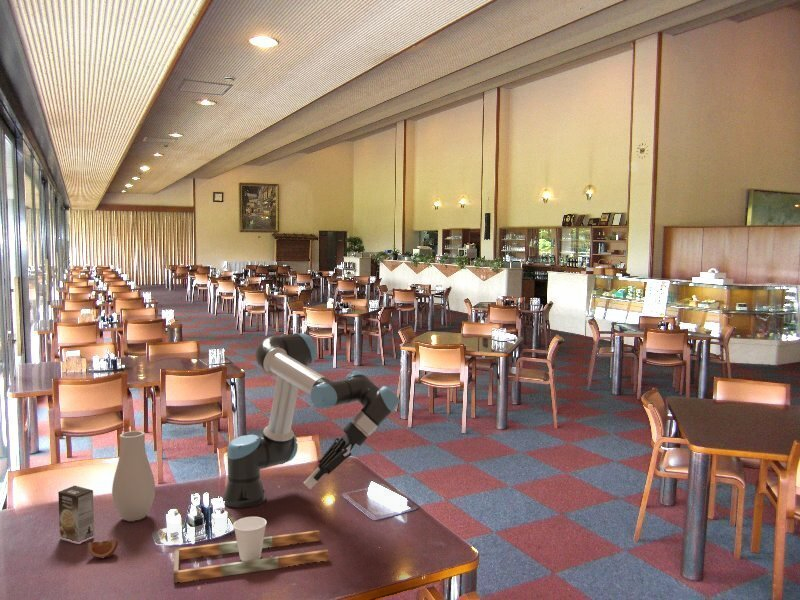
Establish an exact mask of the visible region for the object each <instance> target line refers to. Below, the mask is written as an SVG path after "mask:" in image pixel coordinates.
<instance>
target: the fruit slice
mask: <svg viewBox="0 0 800 600" xmlns="http://www.w3.org/2000/svg"><path fill="white" fill-rule="evenodd" d="M118 544H119V541H118V540H117V539H111V540H102V541H91V542H88V541H87V552H88V553H89V554H90V555H91V556H93V557H94V558H97V557H98V558H97V559H103V558H102V557H107V556H109V557H110V556H112V555H113V554H114V553H115V551H116V550H117V548H118ZM107 558H108V557H107Z"/></svg>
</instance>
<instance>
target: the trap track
mask: <svg viewBox="0 0 800 600" xmlns="http://www.w3.org/2000/svg"><path fill="white" fill-rule="evenodd" d="M319 541H320V530H317V529H316V530H310V531H308V530H307V531H303V532H294V533H287V534H279V535H272V536H264V539H263V545H262V549H267V548H268V547H269V548H275V547H276V546H277V547H284V546H291V545H290V544H292V545H298V544H297V543H299V544H305V543H304V542H306V543H312V542H319ZM277 547H276V548H277ZM230 553H231V554H232V553H233V554H234V553H239V550H238V545H237V540H234V541H233V540H232V541H224V542H219V543H218V542H217V543H210V544H209V543H208V544H203V545H196V546H188V547H187V546H186V547H179V548H175V549H174V556H173V557H174V559H173V584H178V583H177V582H180V583H185V582H193V580H194V581H199V579H201V580H206V579H214V578H221V577H228V576H232V575H233V576H234V575H239V574H240V575H241V574H247V573H253V572H261V571H267V570H274V569H275V570H276V569H281V568H282V567H283V568H288V566H290V567H294V566H293V565H296V566H299V565H298V564H303V565H305V564H304V563H310V562H317V563H321V562H320V561H324V562H328V561H329V550H328V548H327V549H323V550H322V549H320V550H313V551H308V552H300V553H294V554H293V553H292V554H286V555H280V556H273V557H265V558H264V557H263V558H260V559H256V560H249V561H242V560H241V561H236V562H235V561H234V562H228V563H222V564H221V563H220V564H215V565H207V566H200V567H194V568H185V569H180V559H181V560H186V559H187V560H188V559H195V558H194V557H196V558H202V557H201V556H203V557H209V556H210V555H211V556H216V555H217V556H218V555H223V554H224V555H225V554H230ZM327 560H328V561H327ZM310 564H311V563H310Z"/></svg>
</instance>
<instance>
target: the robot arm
mask: <svg viewBox="0 0 800 600" xmlns="http://www.w3.org/2000/svg"><path fill="white" fill-rule="evenodd" d="M255 350H256V351H255V361H256V364H257V365H258V366H259V368H261V370H263V371H265V372H266V373H268V374H269V375H276V376H277V377H276V381H275V382H276V383H275V386H274V387H275V388H274V392H273V399H272V404H271V410H270V413H269V414H270V415H269V421H268V425H267V426H265V427H264V428H263V432H262V436H258V435H256V434H248V435H246V434H245V435H241V436H237V437H236V438H233V439H232V440H231V441H230V442H229V443H228V445H227V453H226V456H227V480H228V481H227V485H226V488H225V492H224V494H223V502H224V501H225V504H226V506H227V507H230V508H235V509H236V508H238V509H239V508H240V509H243V508H251V507H255V506H258V505H260V504H262V503H263V502H264V501H265V500H266V491H265V490H264V485H263V483H262V480H261V470H263V469H267V468H270V467H274V466H278V465H283V464H285V463H288V462H291V461H292V460H293V459H294V458H295V457H296V455H297V452H298V448H299V447H298V443H297V442H298V440H297V437H296V435H295V434H294V431H293V430H292V424H293V420H294V414H295V409H296V406H297V405H296V404H297V401H298V400H297V399H298V395H299V394H298V393H299V390H300V391H302V392H304V393H305V394H306V395H309V396H310V400H311V402H312V404H313V406H314V407H315V408H316V409H330V408H333V407H337V406H342V405H346V404H350V403H352V404H353V403H356V402H358V403H360V404H361V405H362V406H363V407H362V409H360V410H359V411H358V412H357V413H356V414H355V415H354V417H353V418H352V421H349V422H348V424H346V425H345V427H343V429H342V430H343V432H344V433H345V434H344V435H343V436H342V437H340V438H339V437H336V438H335V440H334V441H333V443H332V444H331V445H330V447H329V448H328V450H326V452H325V453H324V455H323V456H322V457H321V458H320V460H319V461H318V466H317V467H316V469H315V470H314V471H313V472H312V473H311V474H310V475H309V476H307V478H306V479H305V480H304V481H303V484H304V485H305V486H306V487H307V488H308V489H309V490H312V489H313V488H314V486H316V485H317V483H319V481H320V480H321V478H323V477H324V476H325V475H326V474H327V475H330V474H331V473H332V472H333V471H334V470H336V468H337V467H338V466H340V464H342V463H343V462H344V461H346V459H348V458H349V457H351V455H352V453H351V451H352V450H353V448H354V447H355V445H357V446H363V444H364V443H365V442H366V441H367V439H368V436H371V435H372V434H373V433H375V432H376V431H377V428H378V427H379V426H380V425H381V423H383V422H384V421H385V420H386V418H387V417H389V415H390V414H392V413H393V412H394V410H395V409H396V408H397V406H398V405H399V404H400V403H401V400H400V397H399V396H397V394H396V393H394V392H393V390H391V389H390V387H388V386H387V385H383V386H381V388H379V387H378V386H377V385H376V384H375V383H374V382H373V381H372V380H371V379H370V378H369V377H368V376H367V375H365V374H364V373H362V372H361V371H358V370H354V371H352V372H350V373H348V374H347V375H346V376H345V378H344V379H342V380H335V381H334V380H331V379H330V378H327V376H324V375H323V374H321V373H319V372H318V371H315V370H314V369H313V368H310V367H309V366H308V365H312V363H314V362H315V360H317V359H316V358H317V348H316V344H315V341H314V340H313V339H312V336H310V335H308V334H307V333H302V332H300V333H297V332H295V333H290V334H281V335H271V336H269V337H266V338H264V339H263V340H262V341H261V342H260V343H259V344H258V346H257V348H256V349H255ZM225 504H224V505H225Z"/></svg>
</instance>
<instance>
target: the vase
mask: <svg viewBox="0 0 800 600" xmlns="http://www.w3.org/2000/svg"><path fill="white" fill-rule="evenodd" d="M145 435H146V433H145V432H143V431H141V430H131V431H126V432H123V433H121V434H119V446H120V447H119V456H118V457H119V458H118V461H117V466H116V467H115V473H114V476H113V481H112V486H111V487H112V488H111V493H112V501H113V504H114V507H115V510H116V512H117V513H118V515H119V517H120V518H121V519H122V520H124V521H126V520H127V522H136V521H135V520H138V521H141V520H142V518H143V519H144V518H146V516H148V514H149V513H150V510H151V509H152V506H153V504H154V500H155V494H156V482H155V477H154V473H153V470H152V467H151V463H150V461H149V459H148V455H147V451H146V444H145V442H146V441H145V440H146V439H145V438H146V437H145ZM140 519H141V520H140Z"/></svg>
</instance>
